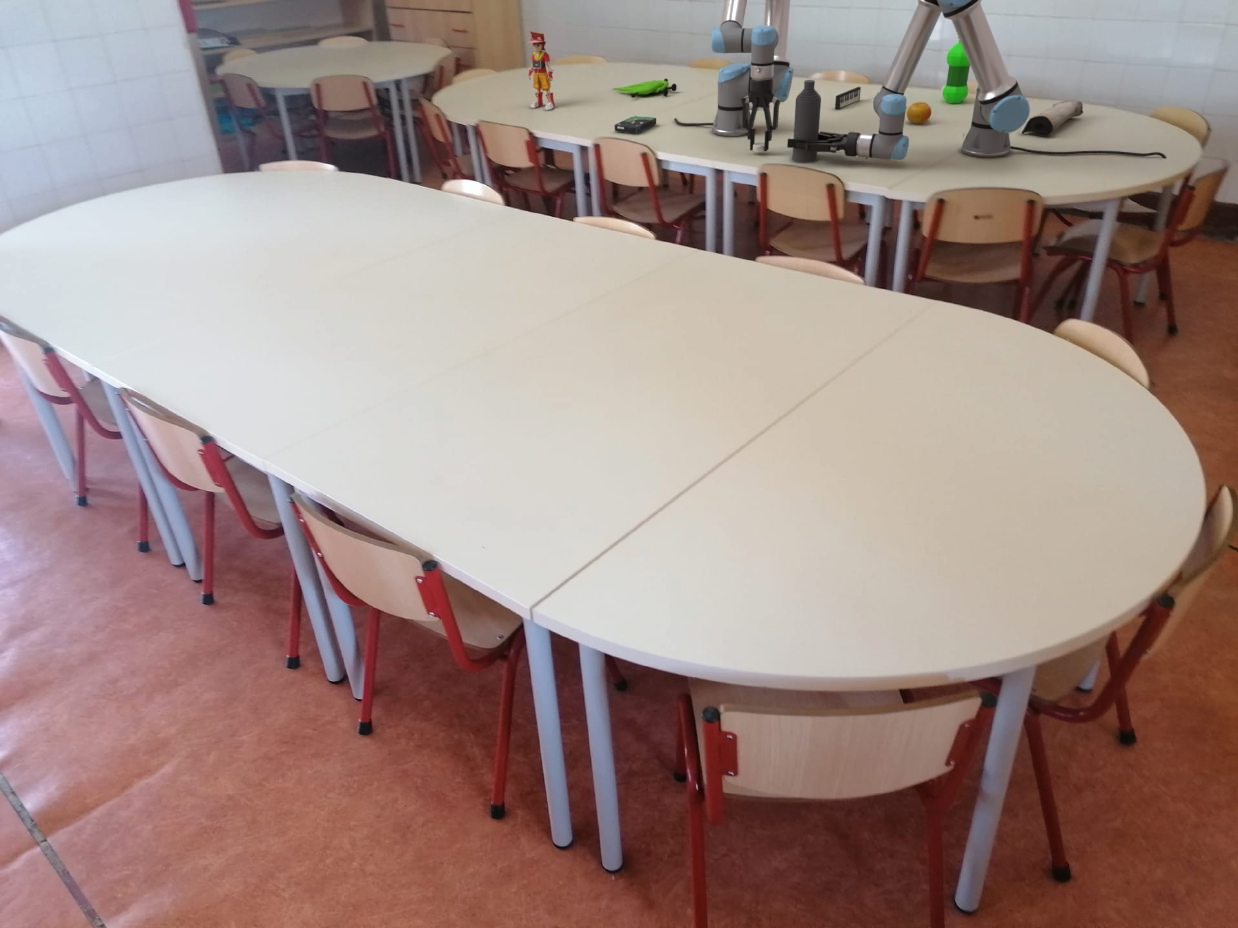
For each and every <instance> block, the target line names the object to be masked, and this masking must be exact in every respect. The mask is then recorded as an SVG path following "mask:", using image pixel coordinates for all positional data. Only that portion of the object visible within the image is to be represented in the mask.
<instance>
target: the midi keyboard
mask: <svg viewBox="0 0 1238 928" xmlns="http://www.w3.org/2000/svg"><path fill="white" fill-rule="evenodd" d="M861 88H862V87H861V86H857V87H854V88H852V89H849V90H847V91H844V92H842V93H839V94H837V95H835V103H834V109H835V110H839V109H841V108H843V107H846V106H848V105H850V104H853V103H855V102H857V101H860V100H861V91H862V90H861Z"/></svg>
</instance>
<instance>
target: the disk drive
mask: <svg viewBox="0 0 1238 928" xmlns="http://www.w3.org/2000/svg"><path fill="white" fill-rule="evenodd" d="M656 125H657V117H652V116H651V117H650V116H637V115H633V116H630V117H628V118H626V119H624V120H621V121H619V122H618V123H615V124H614V132H617V133H618V132H619V133H626V134H635V135H637V134H639V133H642V132H644V131H646V130H647V129H651V128H653V127H654V126H656Z"/></svg>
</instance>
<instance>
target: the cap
mask: <svg viewBox="0 0 1238 928" xmlns="http://www.w3.org/2000/svg"><path fill="white" fill-rule="evenodd" d="M764 143H765V142H755V143H754V144H753V150H752V151H754V152H765V151H764Z"/></svg>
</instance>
